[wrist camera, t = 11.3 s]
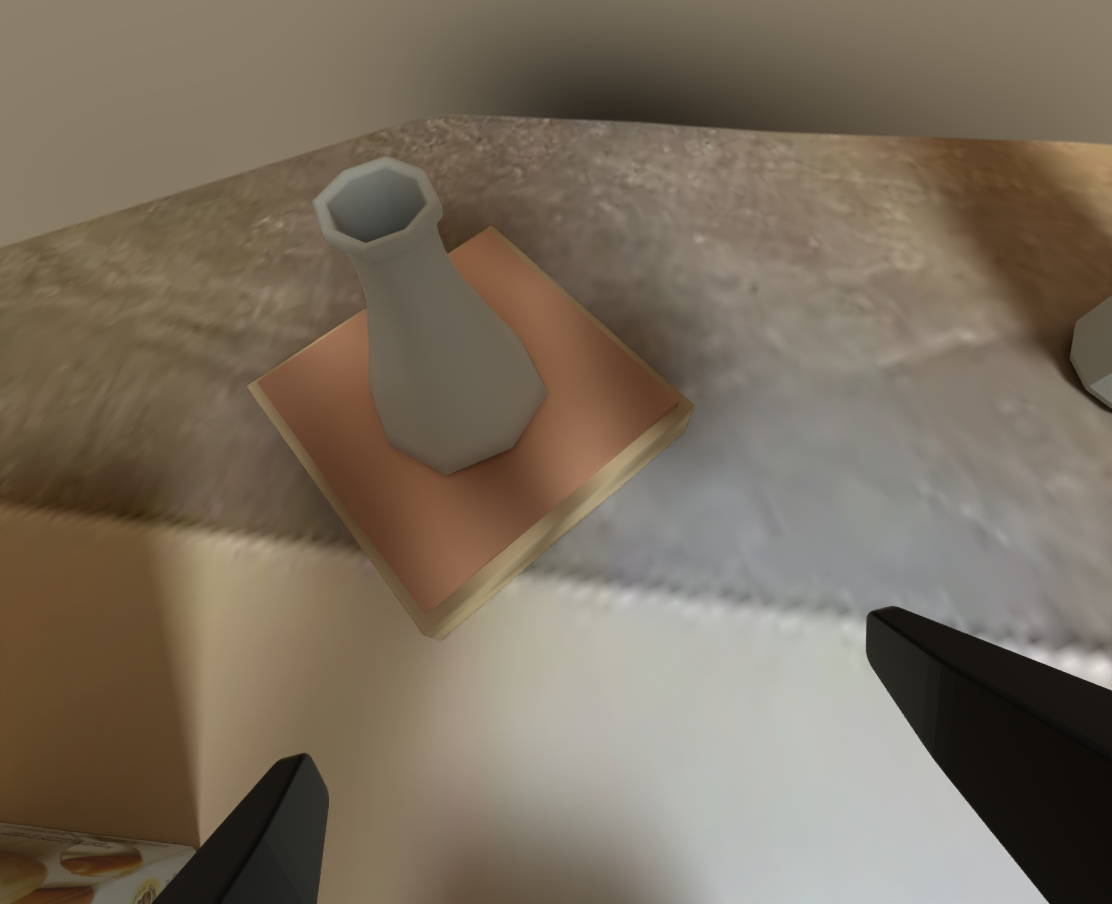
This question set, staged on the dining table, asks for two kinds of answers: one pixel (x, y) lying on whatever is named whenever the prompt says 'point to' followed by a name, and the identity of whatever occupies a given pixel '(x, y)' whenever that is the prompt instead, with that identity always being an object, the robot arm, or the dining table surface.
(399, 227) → the flask
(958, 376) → the dining table surface
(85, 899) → the coffee box
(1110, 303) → the water bottle
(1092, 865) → the robot arm
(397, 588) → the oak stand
